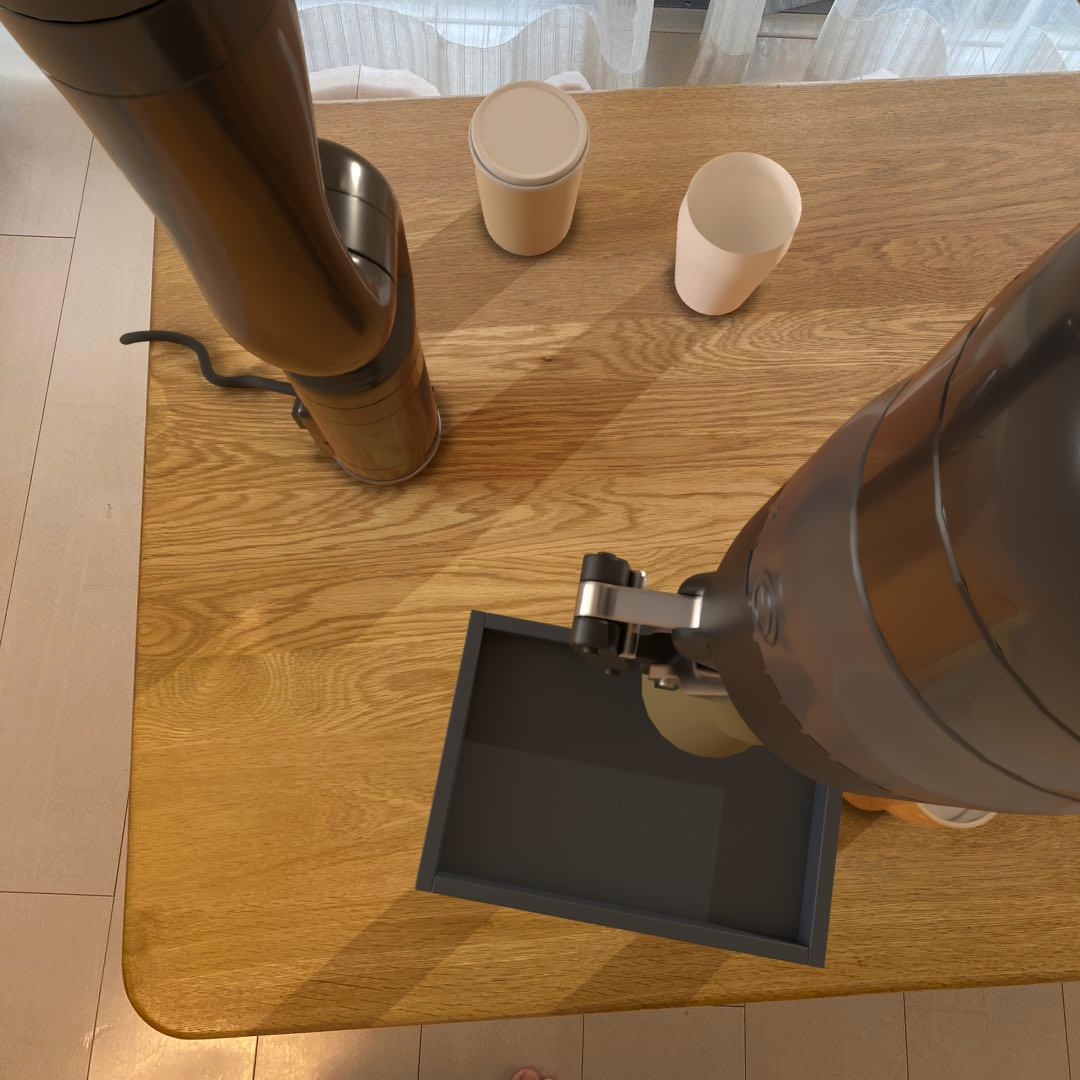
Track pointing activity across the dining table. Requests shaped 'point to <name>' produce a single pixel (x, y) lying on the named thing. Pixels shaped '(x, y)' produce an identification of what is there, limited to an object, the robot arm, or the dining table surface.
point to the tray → (619, 809)
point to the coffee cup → (528, 163)
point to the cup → (733, 230)
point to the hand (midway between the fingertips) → (745, 673)
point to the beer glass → (922, 812)
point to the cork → (697, 722)
